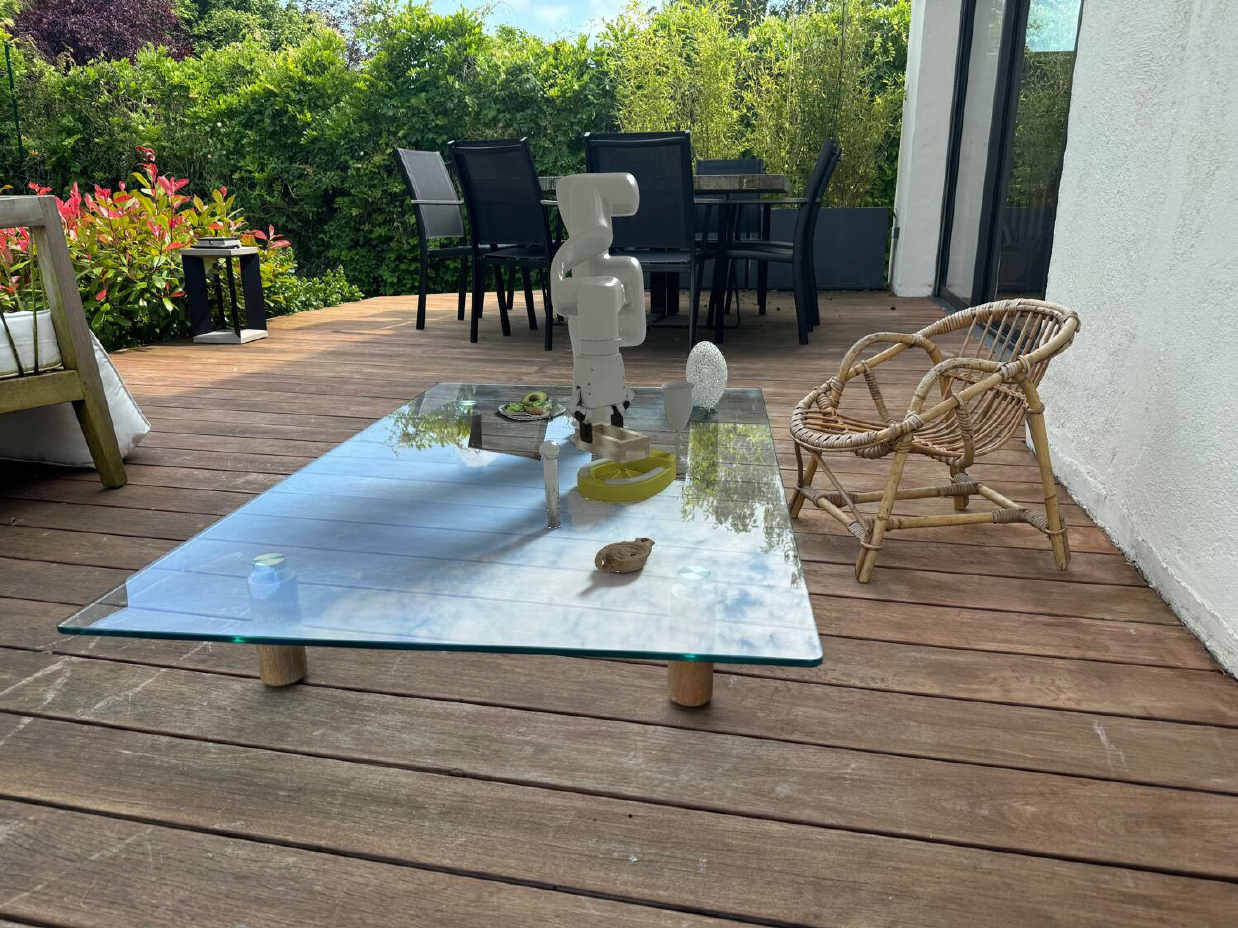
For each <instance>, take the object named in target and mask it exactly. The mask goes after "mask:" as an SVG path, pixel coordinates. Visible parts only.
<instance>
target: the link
mask: <svg viewBox="0 0 1238 928" xmlns="http://www.w3.org/2000/svg"><path fill="white" fill-rule="evenodd" d="M574 433H575V444H574V445H575V448H576V449H579V450H582V451H584V452H586V453H590V454H593V455H596V456H599V457H600V458H602V459H603V458H606V459H609V460H612V461H614V462H617V463H620V464H624V463H628V462H632V461H636V460H640V459H643V458H647V457H650V449H651V444H650V443H651V436H650V435H647V434H642V433H640V432H636V431H633V430H631V429H627V428H625V427H624V428H621V427H617V426H614V425H611V424H608V423H605V422H599V423H595V424H592V443H590V444H588V443H586V442H583V441H581V438H580V429H579V427H574Z"/></svg>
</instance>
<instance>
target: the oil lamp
mask: <svg viewBox="0 0 1238 928" xmlns="http://www.w3.org/2000/svg"><path fill="white" fill-rule="evenodd" d="M655 544H656V541H655V540H653V539H651V538H649V537H635V540H632V541H631V540H630V541H629V540H628V541H627V540H622V541H620V542H613V543H610V544H606V545H604V546H603V547H602V548H600V549H599V550H598V552H597V553H596V555H595V557H594V566H595V567H596V569H598V570H599V571H601V572H607V571H608V570H610V571H611V570H613V571H612V572H614V571H619V572H627V573H630V572H629V571H633V572H635V570H636V571H638V569H639V570H640V569H641V568H643V567H644V566H645V565H646V563H647V561H648V558H649V557H650V556H651V553H652V550H653V546H654V545H655Z"/></svg>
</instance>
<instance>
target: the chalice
mask: <svg viewBox="0 0 1238 928" xmlns="http://www.w3.org/2000/svg"><path fill="white" fill-rule="evenodd" d="M660 386H661V388H662V390H663V410H664V413H665V416H666V419H667V421H668V422H669V426H670V427H671V429H673V430H675V433H676V434H675V438H674V440H675V446H674V449H675V451H676V453H675V456H676V474H686V473H689V472H691V467H690V464H689V463H688V460H687V458H685V457H683V456H682V454H681V452H682V449H683V447H684V446H682V440H683V437H682V434H681V433H682V430H683V429H685V428H686V426H687V424H688V422H689V420H690V418H691V415H692V411H693V398H692V393H693V388H694V386H695V385H694V384H693V383H690V382H687V381H669V382H665V383H663V384H661V385H660Z"/></svg>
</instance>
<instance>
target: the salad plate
mask: <svg viewBox="0 0 1238 928" xmlns="http://www.w3.org/2000/svg"><path fill="white" fill-rule="evenodd" d="M549 398H550V397H549V395H548V394H547V393H546V392H545V391H543V390H535V391H531V392H528V393H525V394H524V395H523V396H522V397H521V400H520V402H510V401H509V402H508V403H505V404H501V405H499V406H498V407H497V411H498V413H499V412H502V413H503V412H507V413H516V412H517V413H518V412H527V413H528V414H531V415H539V416H534V417H530V416H521V415H520V416H511V415H507V414H505V413H503V414H505V415H506V416H510V417H512V418H516V419H539V418H549V417H553V418H555V417H557V416H559V415H561V414H563V413H564V412H566V411H567V409H566V408H565V405H564V406H563V405H562V404H559V399H557V398H552V399H549ZM504 408H505V411H503V410H504ZM554 416H555V417H554ZM549 419H550V418H549Z"/></svg>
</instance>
